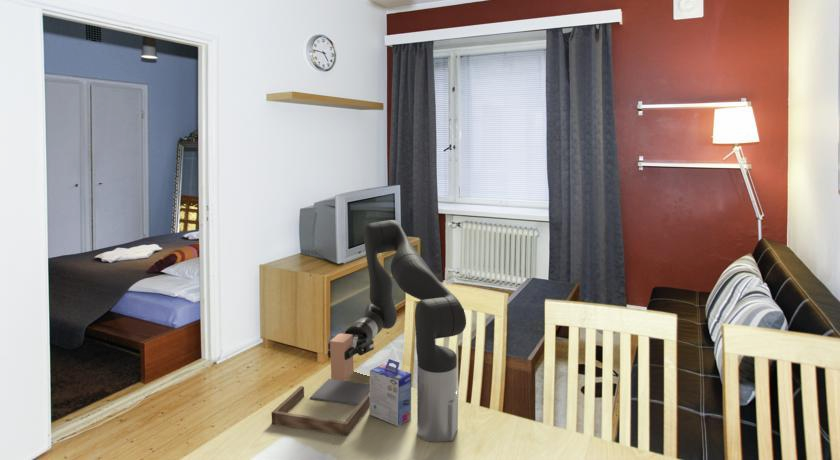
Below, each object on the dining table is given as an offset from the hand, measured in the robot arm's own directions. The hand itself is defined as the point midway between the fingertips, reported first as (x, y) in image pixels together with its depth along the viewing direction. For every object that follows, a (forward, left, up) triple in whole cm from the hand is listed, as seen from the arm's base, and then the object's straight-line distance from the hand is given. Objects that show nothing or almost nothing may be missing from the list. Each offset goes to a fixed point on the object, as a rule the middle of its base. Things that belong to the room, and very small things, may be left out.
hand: (337, 355), depth 149 cm
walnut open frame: (0, +10, -12) cm, 16 cm away
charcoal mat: (0, -3, -12) cm, 12 cm away
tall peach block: (0, -3, -7) cm, 8 cm away
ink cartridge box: (-17, +6, -12) cm, 22 cm away
